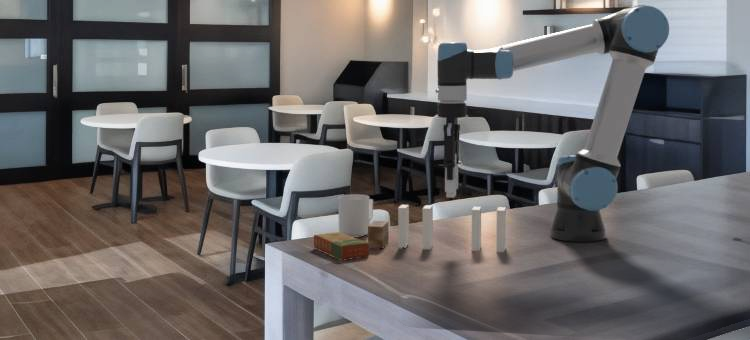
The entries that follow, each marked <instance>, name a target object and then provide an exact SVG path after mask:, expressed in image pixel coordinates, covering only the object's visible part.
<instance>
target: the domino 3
mask: <svg viewBox="0 0 750 340" xmlns="http://www.w3.org/2000/svg"><path fill="white" fill-rule="evenodd" d="M455 167H456V154H455ZM445 193H446V196H445V197H446V198H450V199H451V198H455V197H456V196H457V191H456V192H445Z"/></svg>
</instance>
